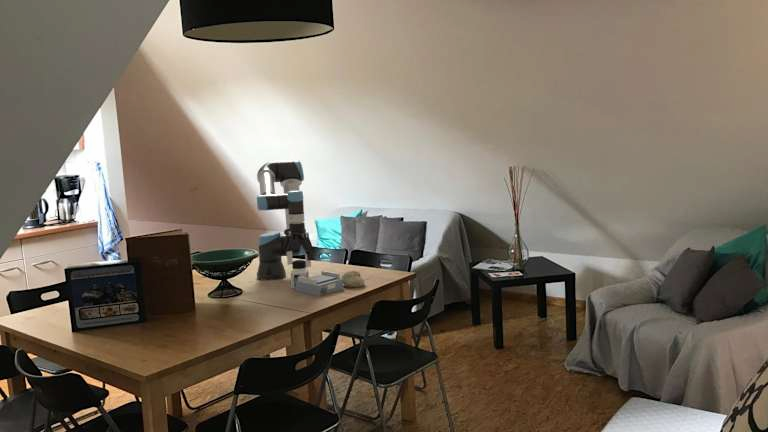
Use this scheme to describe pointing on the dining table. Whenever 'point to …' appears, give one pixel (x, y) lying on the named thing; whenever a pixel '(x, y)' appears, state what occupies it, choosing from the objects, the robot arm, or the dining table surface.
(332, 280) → the grey low rectangular block
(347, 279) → the decorative item
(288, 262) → the robot arm
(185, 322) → the dining table surface
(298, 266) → the container
